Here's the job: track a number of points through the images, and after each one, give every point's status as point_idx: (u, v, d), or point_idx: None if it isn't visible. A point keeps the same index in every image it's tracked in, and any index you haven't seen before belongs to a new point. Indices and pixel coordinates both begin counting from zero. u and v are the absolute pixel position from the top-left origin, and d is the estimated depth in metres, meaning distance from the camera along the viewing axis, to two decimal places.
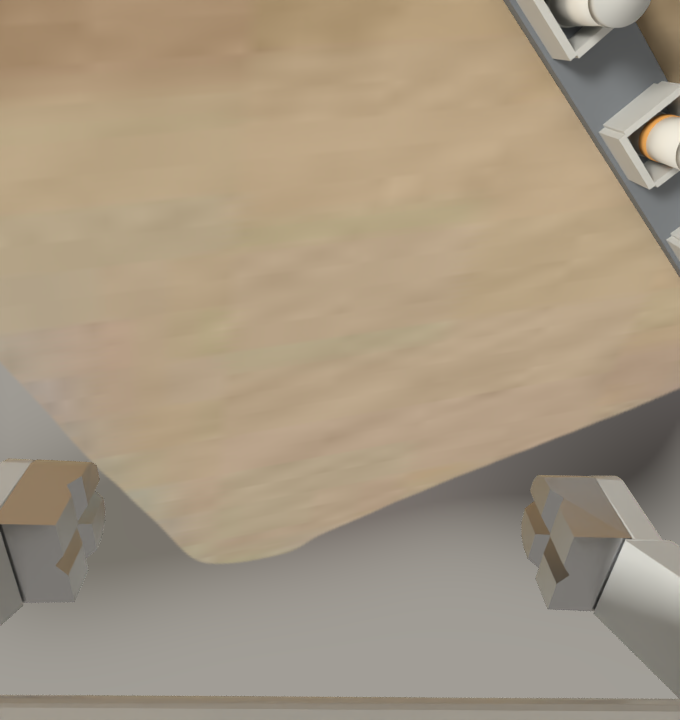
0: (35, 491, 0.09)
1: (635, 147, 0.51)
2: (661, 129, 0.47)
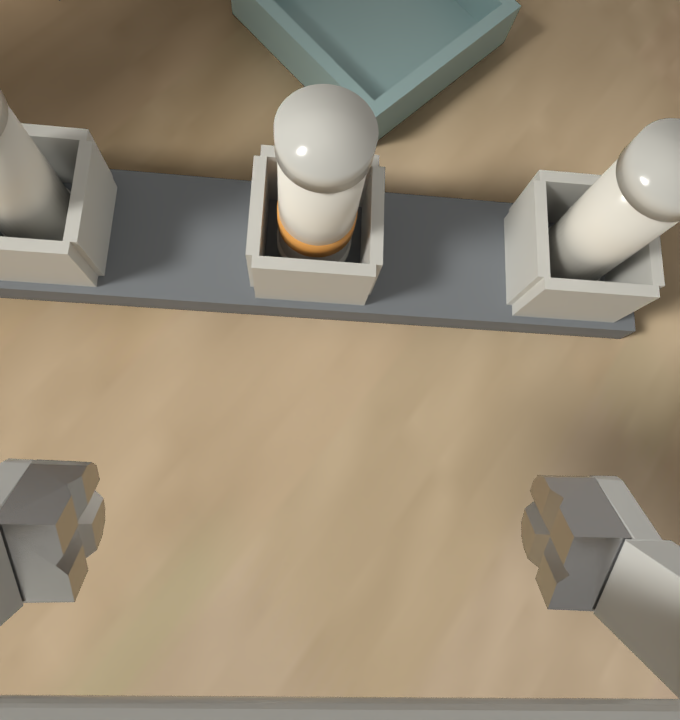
0: (35, 491, 0.09)
1: None
2: (278, 201, 0.25)
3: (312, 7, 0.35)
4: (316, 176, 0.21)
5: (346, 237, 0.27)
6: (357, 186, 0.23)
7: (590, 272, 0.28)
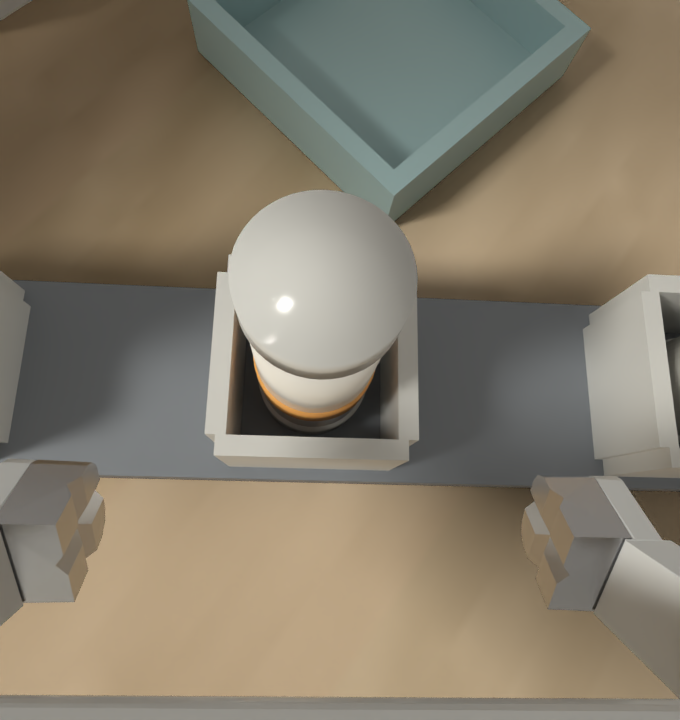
0: (35, 491, 0.09)
1: (302, 422, 0.19)
2: None
3: (305, 40, 0.26)
4: (307, 365, 0.11)
5: (361, 395, 0.17)
6: None
7: None
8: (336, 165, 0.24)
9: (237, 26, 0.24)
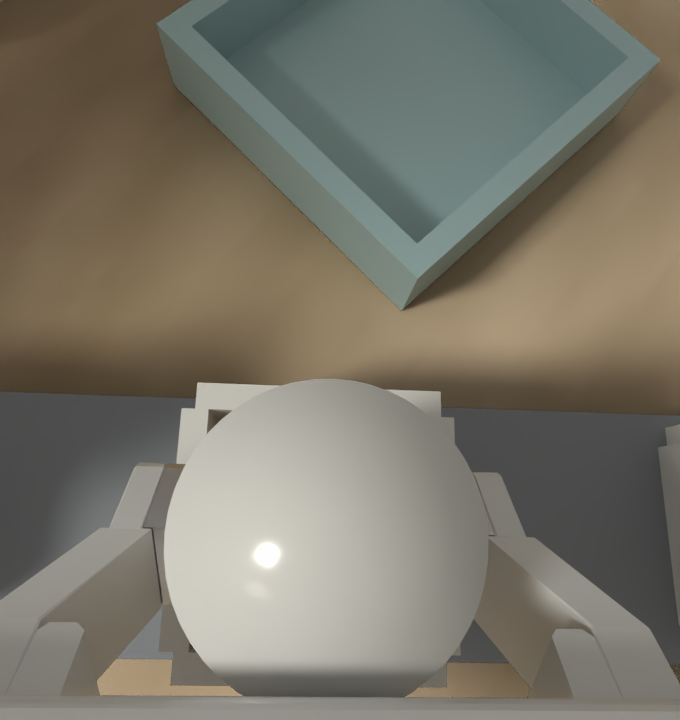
0: None
1: None
2: None
3: (305, 72, 0.21)
4: None
5: None
6: None
7: None
8: (343, 232, 0.19)
9: (219, 59, 0.19)
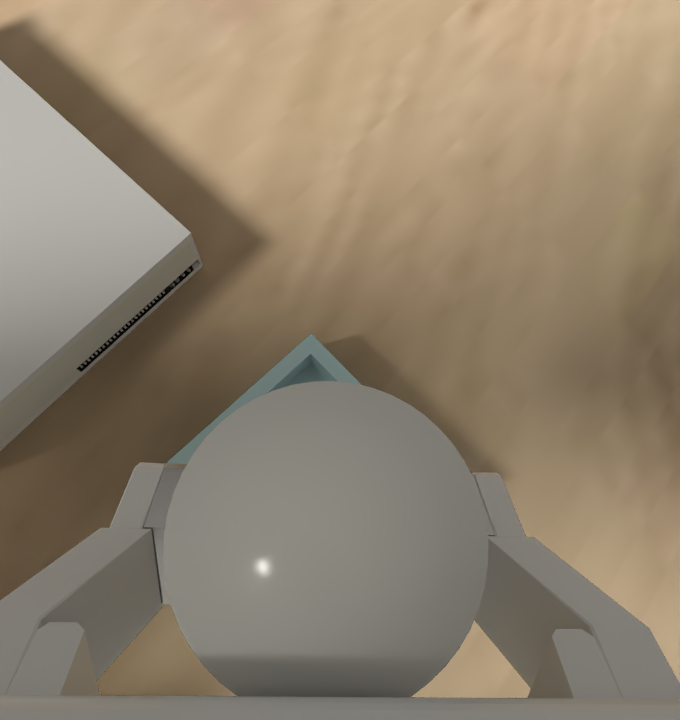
0: None
1: None
2: None
3: None
4: None
5: None
6: None
7: None
8: None
9: None
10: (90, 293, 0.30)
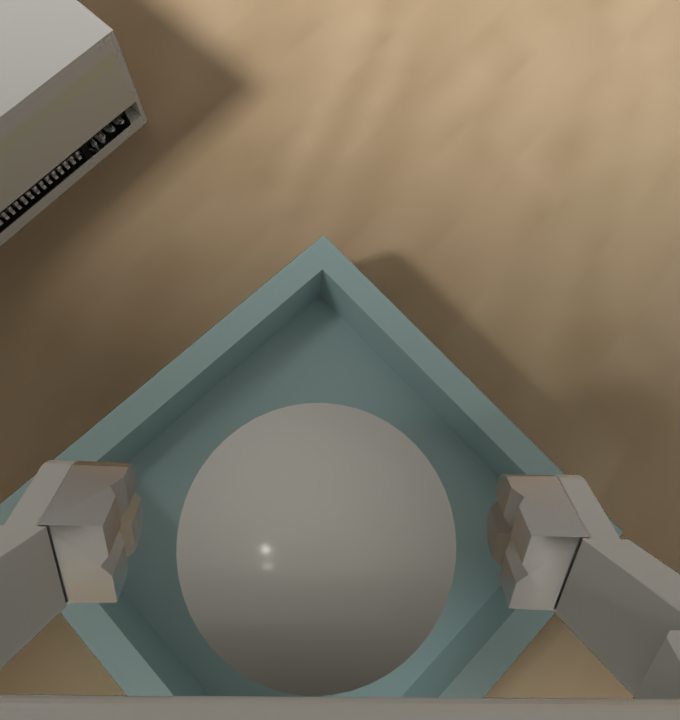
0: (79, 492, 0.09)
1: None
2: None
3: None
4: (292, 691, 0.08)
5: None
6: None
7: None
8: None
9: None
10: None
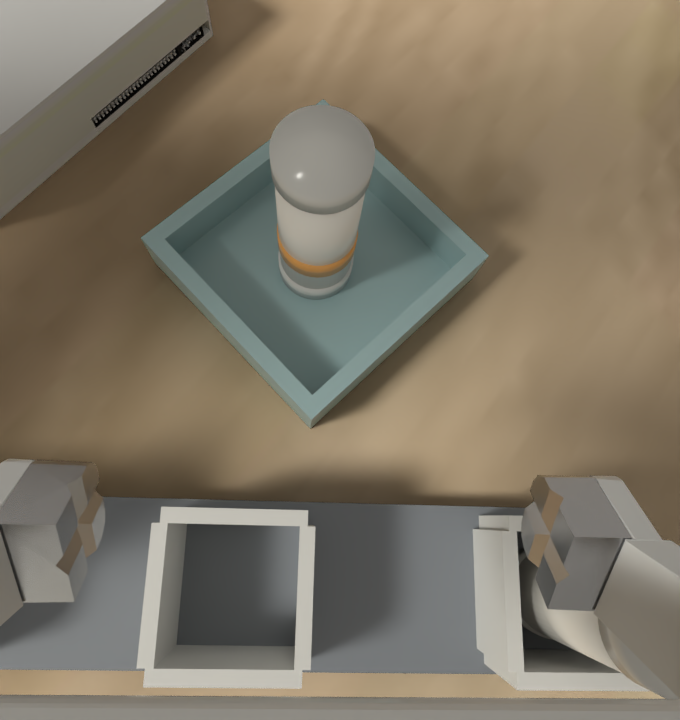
0: (35, 491, 0.09)
1: (309, 283, 0.28)
2: None
3: (247, 254, 0.30)
4: (313, 198, 0.20)
5: (347, 256, 0.27)
6: (355, 206, 0.22)
7: None
8: (268, 378, 0.28)
9: (183, 263, 0.28)
10: (104, 24, 0.29)
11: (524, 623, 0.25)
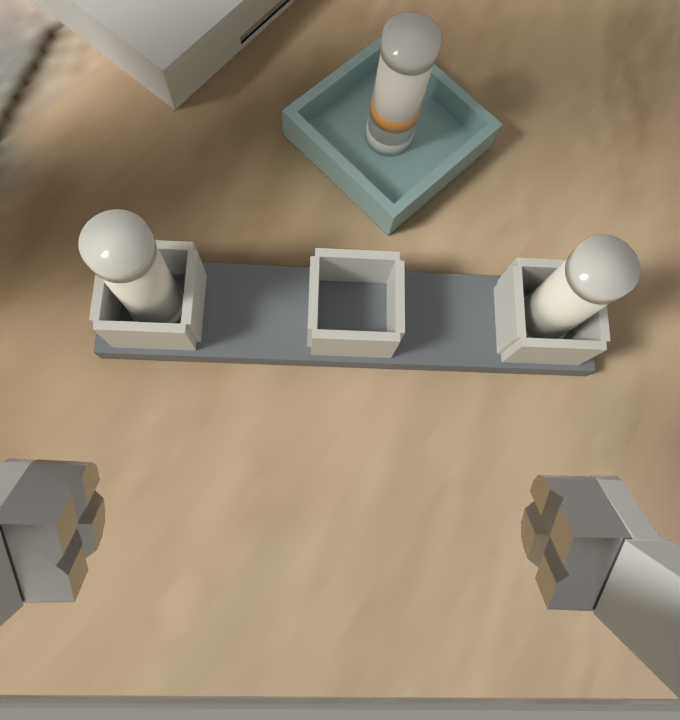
0: (35, 491, 0.09)
1: (388, 140, 0.44)
2: (375, 92, 0.41)
3: (344, 128, 0.46)
4: (408, 62, 0.37)
5: (415, 118, 0.43)
6: (428, 73, 0.38)
7: (556, 332, 0.39)
8: (362, 200, 0.44)
9: (309, 126, 0.44)
10: None
11: (526, 333, 0.41)
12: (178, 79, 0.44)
